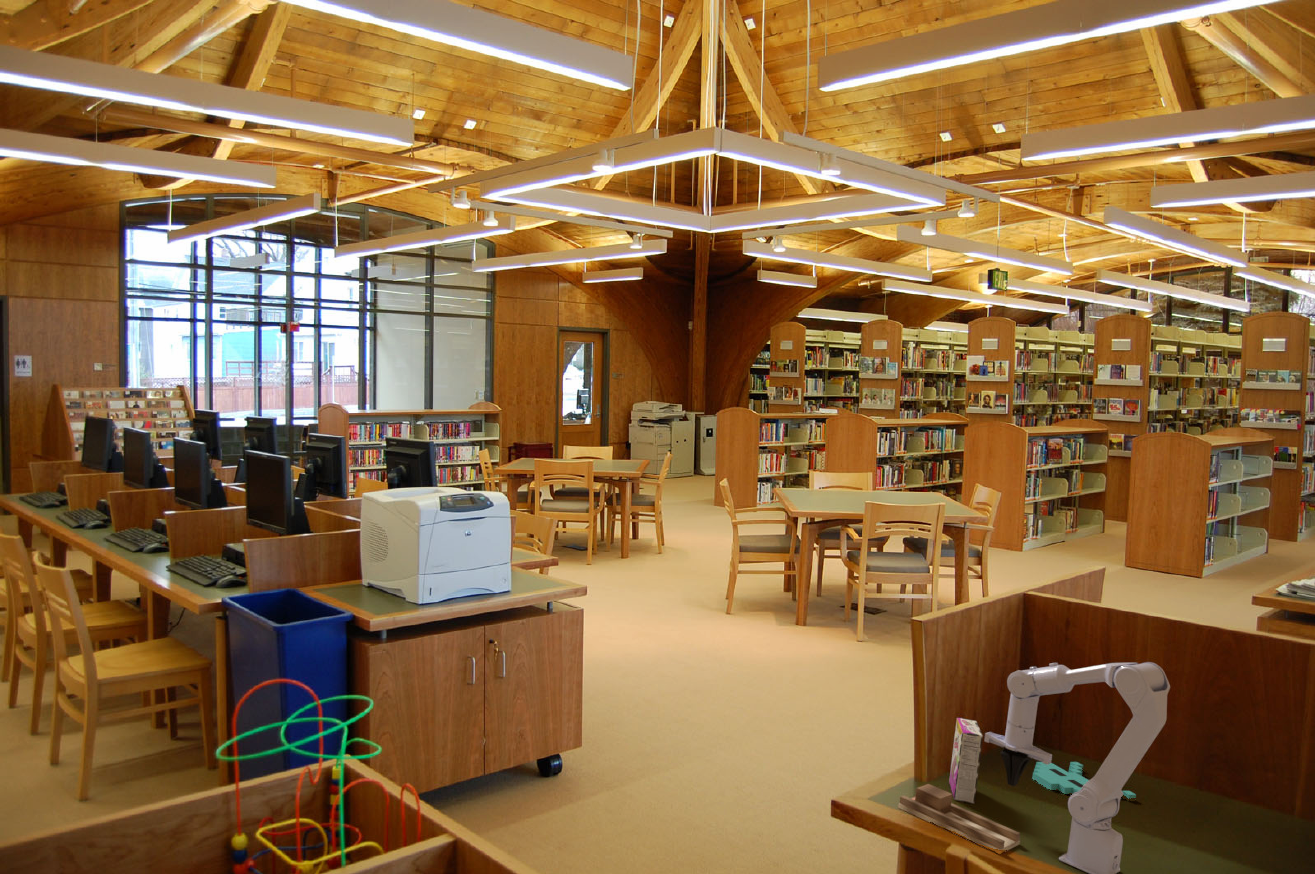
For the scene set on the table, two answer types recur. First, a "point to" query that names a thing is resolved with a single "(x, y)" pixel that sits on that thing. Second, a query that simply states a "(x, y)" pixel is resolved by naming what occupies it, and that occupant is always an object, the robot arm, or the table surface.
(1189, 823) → the table surface
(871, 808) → the table surface
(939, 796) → the walnut block
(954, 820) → the chute
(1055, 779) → the alien figure
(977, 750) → the candy bar box
